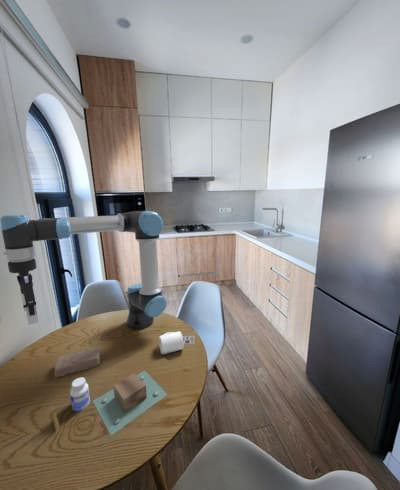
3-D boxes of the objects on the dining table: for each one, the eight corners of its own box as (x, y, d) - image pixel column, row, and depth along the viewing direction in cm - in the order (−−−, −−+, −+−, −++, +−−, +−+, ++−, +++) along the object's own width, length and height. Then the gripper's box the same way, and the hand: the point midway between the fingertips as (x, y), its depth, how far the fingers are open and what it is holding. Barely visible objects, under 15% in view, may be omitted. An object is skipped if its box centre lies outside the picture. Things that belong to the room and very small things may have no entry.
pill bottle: (73, 402, 75) (70, 378, 73) (91, 397, 77) (88, 373, 75) (70, 416, 70) (67, 390, 68) (89, 410, 72) (86, 385, 70)
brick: (54, 378, 86) (53, 368, 85) (58, 365, 94) (57, 355, 93) (100, 366, 92) (99, 356, 92) (100, 354, 100) (99, 345, 99)
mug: (184, 352, 100) (183, 337, 99) (162, 358, 96) (161, 342, 95) (177, 338, 111) (176, 324, 110) (157, 343, 107) (156, 328, 106)
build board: (144, 373, 88) (144, 369, 88) (167, 397, 76) (167, 393, 76) (92, 404, 74) (92, 400, 74) (111, 439, 63) (110, 434, 63)
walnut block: (135, 384, 81) (134, 372, 80) (146, 397, 75) (145, 385, 74) (114, 397, 75) (113, 385, 74) (124, 413, 70) (123, 399, 69)
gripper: (5, 255, 81) (15, 308, 85) (9, 268, 64) (21, 334, 67) (30, 252, 87) (38, 302, 90) (40, 263, 69) (49, 325, 72)
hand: (31, 316), depth 79 cm, fingers open, 13 cm apart
